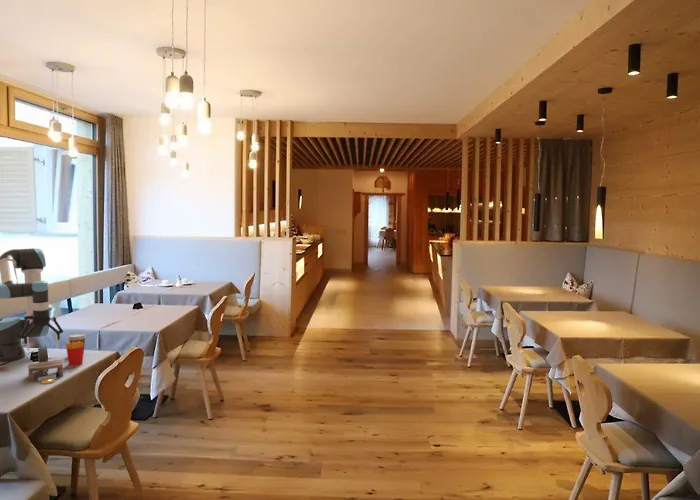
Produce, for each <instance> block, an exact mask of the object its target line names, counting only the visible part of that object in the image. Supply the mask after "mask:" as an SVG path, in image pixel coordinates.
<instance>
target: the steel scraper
mask: <svg viewBox="0 0 700 500" xmlns="http://www.w3.org/2000/svg"><path fill="white" fill-rule="evenodd" d="M37 352H38V353H37V354H38V355H37V356H38V363H40V362H47V361H49V357H48V348H47V347H46V346H45V347H40V348H37ZM48 371H49V369H47V370H40V371H39V372H40V373H42V374H43V375H42V376H38V377H37V378H38V379H37V381H38V382H40V383H41V380H43V379H45V378H54V379H55V380H57V374H56V373H54V374H49V373H48Z"/></svg>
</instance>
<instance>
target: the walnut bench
mask: <svg viewBox="0 0 700 500" xmlns="http://www.w3.org/2000/svg"><path fill="white" fill-rule="evenodd" d="M27 367H28V370H27V371H28V372H27V373H28V379H29V382H34V372H38V371H39V372H40V370H47V369H48V370H52V369H57V374H58V375H59V378H60V377H61V378H62V377H64V374H63V373H64V371H63V370H64V369H63V363H62V361H61V359H56V360H48V361H47V362H40V363H39V362H35V363H29V364H27Z"/></svg>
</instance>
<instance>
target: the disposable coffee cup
mask: <svg viewBox="0 0 700 500" xmlns="http://www.w3.org/2000/svg"><path fill="white" fill-rule="evenodd" d="M86 338H87V336H86V334H85V333H79V332H78V333H72V334H70V335H68V340H69V342H70V343H72V342H75V343H76V342H78V341H80V342H81V343H82V342H83V346H84V347H85V345H86V344H85V343H86ZM84 352H85V349H84V350H83V355H84Z"/></svg>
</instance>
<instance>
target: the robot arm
mask: <svg viewBox="0 0 700 500" xmlns="http://www.w3.org/2000/svg"><path fill="white" fill-rule="evenodd" d="M46 264H47V263H46V257H45V253H44V251H43V250H42V249H41V248H35V247H34V248H21V249H19V248H18V249H16V248H15V249H9V250H7V251H5V252H4V253H2V254H1V255H0V280H1V284H0V300H1V299H3V300H5V299H15V298H16V299H17V298H25V303H26V304H25V305H26V314H25V315H24V316H23V317H24V318H23V319H21V318H20V317H19V316H15V317H9V318H4V319H2V320H0V362H11V361H16V360H21V359H23V358H25V357H26V351H25V349H24V347H23V343H22V340H23V339H24V340H23V342H24V344H25V345H26V350H27V351H29V350H30V341H29V339H34V338H41V337H42V338H43V337H46V336H48V335H49V331H50V330H52V331H53V332H54V335H55V346H56V347H58V345H59V344H58V343H59V342H58V340H59V341H60V339H61V338H60V336H61V335H60V334H62V333H63V332H64V330H63V329H62V327H61V326H60V324H59V322H58V321H57V317H56V316H55V315H54V316H52V317H50V309H49V308H50V306H49V305H50V304H49V303H50V302H49V301H50V300H49V283H48V281H46V280H42V276H41V275H42V274H41V273H42V272H43V271H44V268H45V267H46V266H47V265H46ZM17 269H20V271H21V272H22V273H23V274H24V283H19V282H18V276H17V271H16V270H17ZM50 321H52V322H53V323H54V324H55V326H56V327H57V328H55V327H54V326H53V325H52V324H51V323H50Z"/></svg>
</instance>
